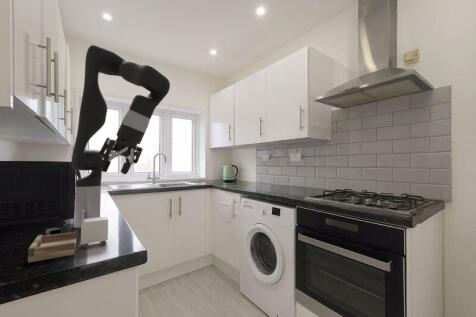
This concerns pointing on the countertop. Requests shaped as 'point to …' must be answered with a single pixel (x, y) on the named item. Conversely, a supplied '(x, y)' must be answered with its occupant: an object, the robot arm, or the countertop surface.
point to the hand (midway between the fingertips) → (113, 172)
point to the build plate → (53, 231)
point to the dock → (52, 246)
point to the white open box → (94, 230)
